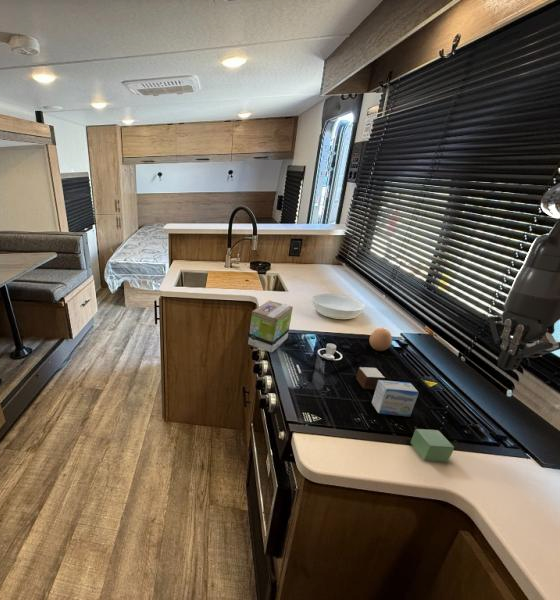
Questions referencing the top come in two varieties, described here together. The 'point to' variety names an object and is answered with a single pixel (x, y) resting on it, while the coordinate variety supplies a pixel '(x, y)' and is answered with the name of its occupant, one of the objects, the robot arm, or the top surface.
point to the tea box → (270, 325)
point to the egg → (380, 339)
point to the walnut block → (369, 377)
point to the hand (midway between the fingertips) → (505, 367)
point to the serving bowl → (337, 306)
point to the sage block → (432, 445)
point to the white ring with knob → (329, 352)
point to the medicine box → (394, 398)
